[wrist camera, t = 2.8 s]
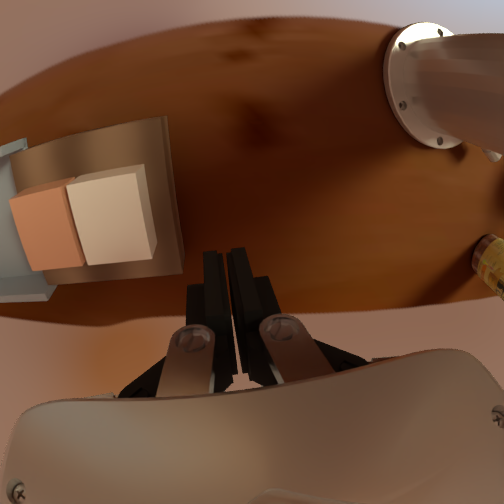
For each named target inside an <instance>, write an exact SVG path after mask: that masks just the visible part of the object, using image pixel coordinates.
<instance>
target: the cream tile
mask: <svg viewBox="0 0 504 504" xmlns="http://www.w3.org/2000/svg"><path fill="white" fill-rule="evenodd" d="M66 188H67V192H68V196H69V201H70V205H71V209H72V213H73V217H74V220H75V224H76V228H77V231H78V235H79V238H80V241H81V245H82V248H83V251H84V254H85V258H86V261H87V264H88V265H98V264H107V263H117V262H127V261H137V260H147V259H152V258H153V254H154V251H155V248H156V245H157V238H156V233H155V228H154V222H153V217H152V211H151V205H150V200H149V194H148V187H147V181H146V174H145V167H144V164H140V165H134V166H128V167H122V168H116V169H111V170H105V171H100V172H95V173H90V174H85V175H80V176H79V177H77V178H76V179H75V180H73V181H72V182H70V183H69V184H68V185H66Z"/></svg>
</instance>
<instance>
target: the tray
mask: <svg viewBox="0 0 504 504" xmlns="http://www.w3.org/2000/svg"><path fill="white" fill-rule="evenodd" d="M27 148H28V147H27V141H26V138H23V139H20V140H17V141H14V142H11V143H9V144H6V145H3V146H1V147H0V303H4V302H33V301H48V300H49V298H50V297H51V295H52V293H53V292H54V290H55V289H56V287H57V285H48V284H47V281H46V279H45V277H44V274H43V272H42V270H39V271H32V269H31V266H30V264H29V261H28V259H27V256H26V253H25V250H24V248H23V245H22V242H21V239H20V236H19V233H18V230H17V227H16V224H15V220H14V217H13V214H12V210H11V207H10V203H9V199H11V198H12V197H14V196H15V195H17V191H16V186H15V182H14V178H13V173H12V168H11V163H10V158H9V156H10V155H13V154H15V153H17V152H20V151H22V150H24V149H27Z"/></svg>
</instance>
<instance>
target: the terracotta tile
mask: <svg viewBox="0 0 504 504" xmlns="http://www.w3.org/2000/svg"><path fill="white" fill-rule="evenodd" d="M73 180H75V177H71V178H67V179H62V180H58V181H54V182H50V183H46V184H42V185H38V186H34V187H30V188H26V189H24V190H23V191H21V192H20V193H18V194H17V195H15V196H14V197H12V198H11V199H9V203H10V207H11V210H12V214H13V217H14V220H15V224H16V227H17V230H18V233H19V236H20V239H21V242H22V245H23V248H24V250H25V253H26V256H27V259H28V261H29V264H30V266H31V269H32V271H39V270H49V269H59V268H69V267H78V266H83V264H84V263H85V261H86V258H85V254H84V251H83V248H82V245H81V241H80V238H79V235H78V231H77V228H76V224H75V220H74V217H73V213H72V209H71V205H70V201H69V196H68V192H67V188H66V185H68V184H69V183H70V182H72V181H73Z"/></svg>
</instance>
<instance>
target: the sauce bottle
mask: <svg viewBox="0 0 504 504" xmlns="http://www.w3.org/2000/svg"><path fill="white" fill-rule="evenodd" d="M472 268H473V270H474V271H475V272H476V273H477V274H478V276H479V277H480V278H481V279H482V280H483V281H484V282H485V283H486V284H487V285H488V286H489V287H490V288H491V289H492V290H493V291H494V292H495V293H496V294H497V295H498V296H499V297H500V298H502V300H503V301H504V240H503V239H501V238H498V237H497V236H496V235H494V234H488V235H486V236H485V237H483V238H482V240H481V241H480V242H479V244H478V245H477V246H476V248H475V250H474V253H473V257H472Z"/></svg>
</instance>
